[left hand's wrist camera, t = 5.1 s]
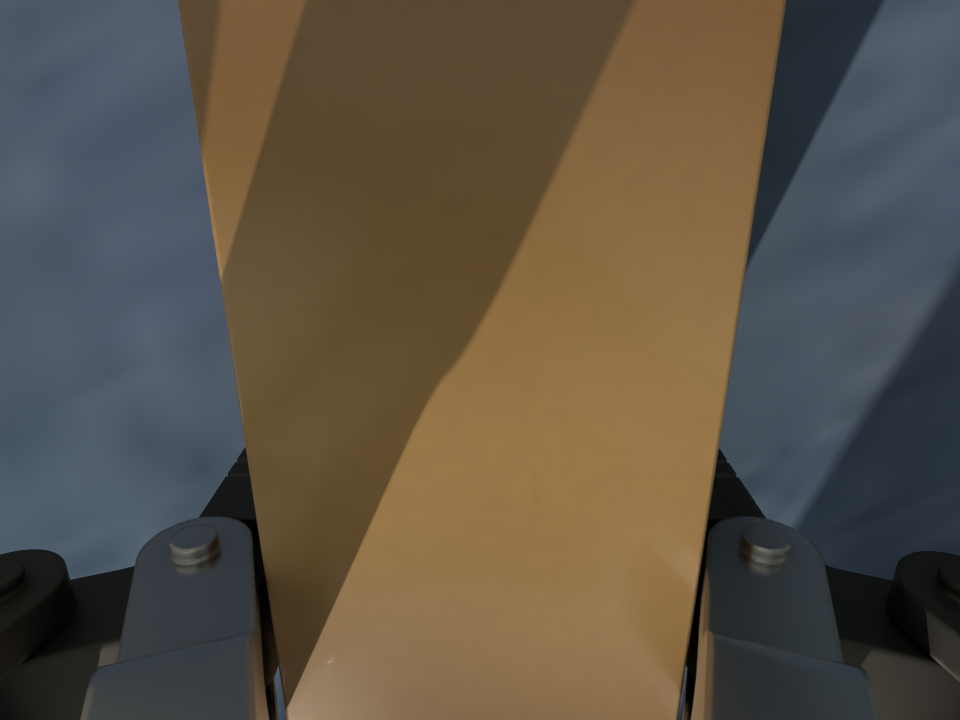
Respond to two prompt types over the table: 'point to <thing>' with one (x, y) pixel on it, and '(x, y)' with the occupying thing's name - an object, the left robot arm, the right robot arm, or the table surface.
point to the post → (482, 333)
